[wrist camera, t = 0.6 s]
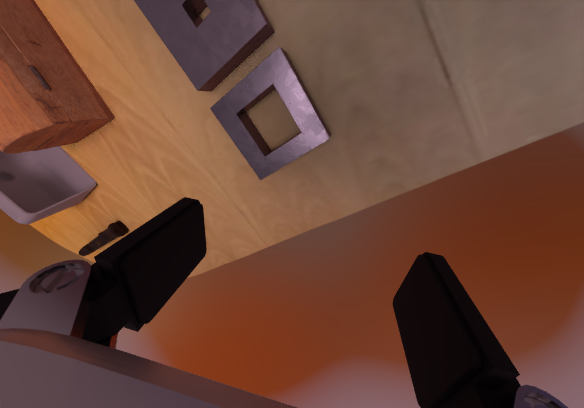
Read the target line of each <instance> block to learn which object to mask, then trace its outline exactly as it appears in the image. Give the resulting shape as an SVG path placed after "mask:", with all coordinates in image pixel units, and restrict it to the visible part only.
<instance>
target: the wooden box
mask: <svg viewBox="0 0 584 408" xmlns="http://www.w3.org/2000/svg"><path fill="white" fill-rule="evenodd" d="M113 118H114V116H113V114H112V113H111V111H110V110H109V108H108V107H107V105H106V104H105V103H104V101H103V100H102V98H101V97H100V95H99V94H98V93H97V91H96V90H95V88H94V87H93V85H92V84H91V82H90V81H89V79H88V78H87V77H86V75H85V74H84V72H83V71H82V69H81V68H80V66H79V65H78V64H77V62H76V61H75V59H74V58H73V56H72V55H71V53H70V52H69V50H68V49H67V47H66V46H65V45H64V43H63V42H62V40H61V39H60V37H59V36H58V35H57V33H56V31H55V30H54V29H53V27H52V26H51V24H50V23H49V21H48V20H47V18H46V17H45V16H44V14H43V13H42V11H41V10H40V8H39V7H38V5H37V4H36V3H35V1H34V0H0V150H1V151H2V152H4V153H7V154H16V153H22V152H28V151H38V150H43V149H48V148H52V147H57V146H62V145H67V144H71V143H76V142H78V141H80V140H82V139H83V138H85V137H86V136H88V135H90V134H91V133H92V132H94V131H96V130H97V129H99V128H100V127H102V126H103V125H105V124H106V123H108V122H109V121H111V120H112V119H113Z"/></svg>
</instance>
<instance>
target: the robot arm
mask: <svg viewBox="0 0 584 408" xmlns="http://www.w3.org/2000/svg"><path fill="white" fill-rule="evenodd" d="M205 254H206V237H205V225H204V213H203V205H202V204H200V202H199V201H198V200H196V199H191V198H187V197H185V198H183V199H181V200H180V201H178V202H177V203H175V204H173V205H172V206H170V207H169V208H167V209H166V210H164V211H163V212H161V213H160V214H158V215H157V216H155V217H154V218H152V219H151V220H149V221H148V222H146V223H145V224H143V225H142V226H140V227H139V228H137V229H136V230H134V231H133V232H131V233H130V234H128V235H127V236H125V237H124V238H122V239H121V240H119V241H118V242H116V243H115V244H113V245H112V246H110V247H109V248H107V249H106V250H104V251H103V252H101V253H99V254H98V255H96V256H95V257H94V258H95V260H96V263H94V264H93V265H90V264H89V263H88V262H86V261H84V260H67V261H62V262H58V263H55V264H52V265H50V266H48V267H45V268H43V269H41V270H39V271H38V272H36V273H34V274H33V275H32V276H30V277H29V278H28V279H27V280H26V281H25V282H24V283H23V284H22V286H21V288H20V289H17V290H13V291H9V292H5V293H1V294H0V408H297V407H293V406H291V405H287V404H284V403H281V402H278V401H275V400H272V399H269V398H266V397H263V396H260V395H257V394H253V393H251V392H248V391H245V390H242V389H238V388H235V387H232V386H229V385H226V384H223V383H220V382H217V381H214V380H211V379H208V378H205V377H202V376H198V375H195V374H192V373H189V372H186V371H183V370H180V369H177V368H173V367H170V366H167V365H164V364H161V363H158V362H155V361H151V360H148V359H145V358H142V357H139V356H136V355H133V354H130V353H127V352H123V351H120V350H117V349H116V343H117V335H118V332H119V331H120V330H121V329H122V328H123V327H125V328H128V329H131V330H134V331H137V332H138V331H139V330H140V329H141V327H142V326H143V325H144V324H147V323H149V322H150V321H151V320H152V319H153V318H154V317H155V315H156V314H157V313H158V312H159V311H160V309H161V308H162V307H163V306H164V305H165V303H166V302H167V301H168V300H169V299H170V297H171V296H172V295H173V294H174V293H175V291H176V290H177V289H178V288H179V287H180V285H181V284H182V283H183V282H184V281H185V279H186V278H187V277H188V276H189V275H190V273H191V272H192V271H193V270H194V269H195V267H196V266H197V265H198V264H199V263H200V261H201V260H202V259H203V258H204V256H205ZM393 308H394V312H395V316H396V319H397V324H398V328H399V332H400V335H401V339H402V343H403V347H404V351H405V355H406V359H407V363H408V367H409V371H410V375H411V379H412V382H413V386H414V390H415V394H416V398H417V401H418V404H419V406H420V407H421V408H568V407H567V406H565V405H564V404H563V403H562V402H560V401H559V400H558V399H556V398H555V397H553V396H552V395H550V394H549V393H547V392H546V391H543V390H541V389H539V388H537V387H534V386H530V385H523V386H521V385H520V384H519V382H518V380H517V379H516V377H517V376H519V375H520V374H519V373H518V371H517V369H516V368H515V366H514V365H513V363H512V362H511V360H510V359H509V357H508V355H507V354H506V352H505V351H504V349H503V348H502V346H501V345H500V343H499V342H498V340H497V338H496V337H495V335H494V334H493V332H492V331H491V329H490V328H489V326H488V325H487V323H486V321H485V320H484V318H483V317H482V315H481V314H480V312H479V311H478V309H477V308H476V306H475V305H474V303H473V301H472V300H471V298H470V297H469V295H468V294H467V292H466V291H465V289H464V287H463V286H462V284H461V283H460V281H459V280H458V278H457V277H456V275H455V274H454V272H453V270H452V269H451V267H450V266H449V264H448V263H447V261H446V260H445V258H444V257H443V256H441V255H437V254H432V253H428V252H425V253H423V254H422V255H418V256H417V258H416V260H415V262H414V263H413V265H412V267H411V269H410V270H409V272H408V274H407V276H406V277H405V279H404V281H403V283H402V284H401V286H400V288H399V289H398V291H397V293H396V295H395V297H394V299H393Z"/></svg>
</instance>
